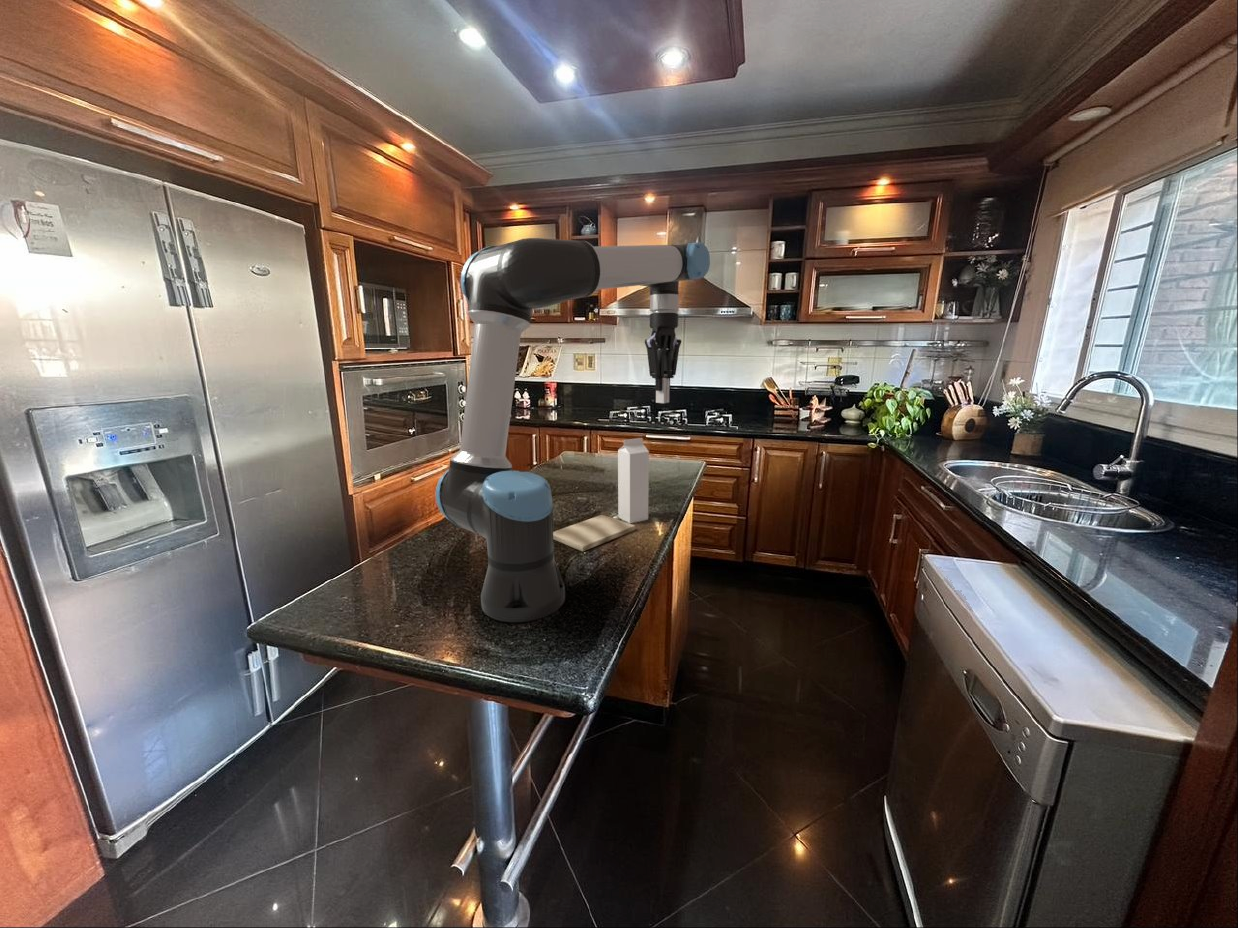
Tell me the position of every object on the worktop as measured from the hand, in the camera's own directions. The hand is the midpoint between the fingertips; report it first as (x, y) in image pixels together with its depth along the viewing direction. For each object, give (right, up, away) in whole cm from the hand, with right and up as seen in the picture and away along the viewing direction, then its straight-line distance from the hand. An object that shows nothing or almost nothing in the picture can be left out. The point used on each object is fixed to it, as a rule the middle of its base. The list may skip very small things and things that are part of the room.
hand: (662, 402), depth 131 cm
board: (-18, -34, -12) cm, 41 cm away
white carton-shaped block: (-8, -32, -1) cm, 33 cm away
